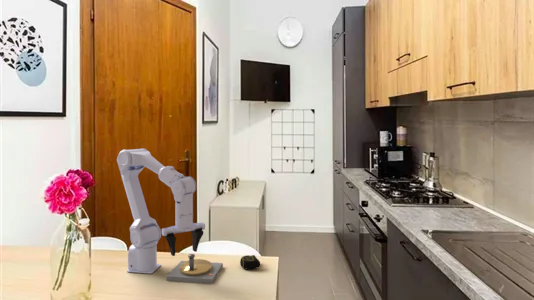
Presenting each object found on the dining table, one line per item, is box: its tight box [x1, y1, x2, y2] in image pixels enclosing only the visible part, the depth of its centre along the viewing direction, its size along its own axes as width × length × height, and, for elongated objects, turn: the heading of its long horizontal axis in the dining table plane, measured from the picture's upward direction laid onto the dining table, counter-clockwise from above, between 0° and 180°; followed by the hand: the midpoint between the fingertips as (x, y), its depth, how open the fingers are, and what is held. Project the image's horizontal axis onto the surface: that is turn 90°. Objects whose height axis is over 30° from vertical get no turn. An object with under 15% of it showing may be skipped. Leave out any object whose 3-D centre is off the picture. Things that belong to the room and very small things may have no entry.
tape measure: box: [239, 254, 261, 270], centre depth 134 cm, size 7×7×4 cm
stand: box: [165, 260, 224, 285], centre depth 128 cm, size 16×14×2 cm
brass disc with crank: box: [180, 253, 212, 276], centre depth 127 cm, size 11×11×7 cm
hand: (184, 252), depth 122 cm, fingers open, 7 cm apart
